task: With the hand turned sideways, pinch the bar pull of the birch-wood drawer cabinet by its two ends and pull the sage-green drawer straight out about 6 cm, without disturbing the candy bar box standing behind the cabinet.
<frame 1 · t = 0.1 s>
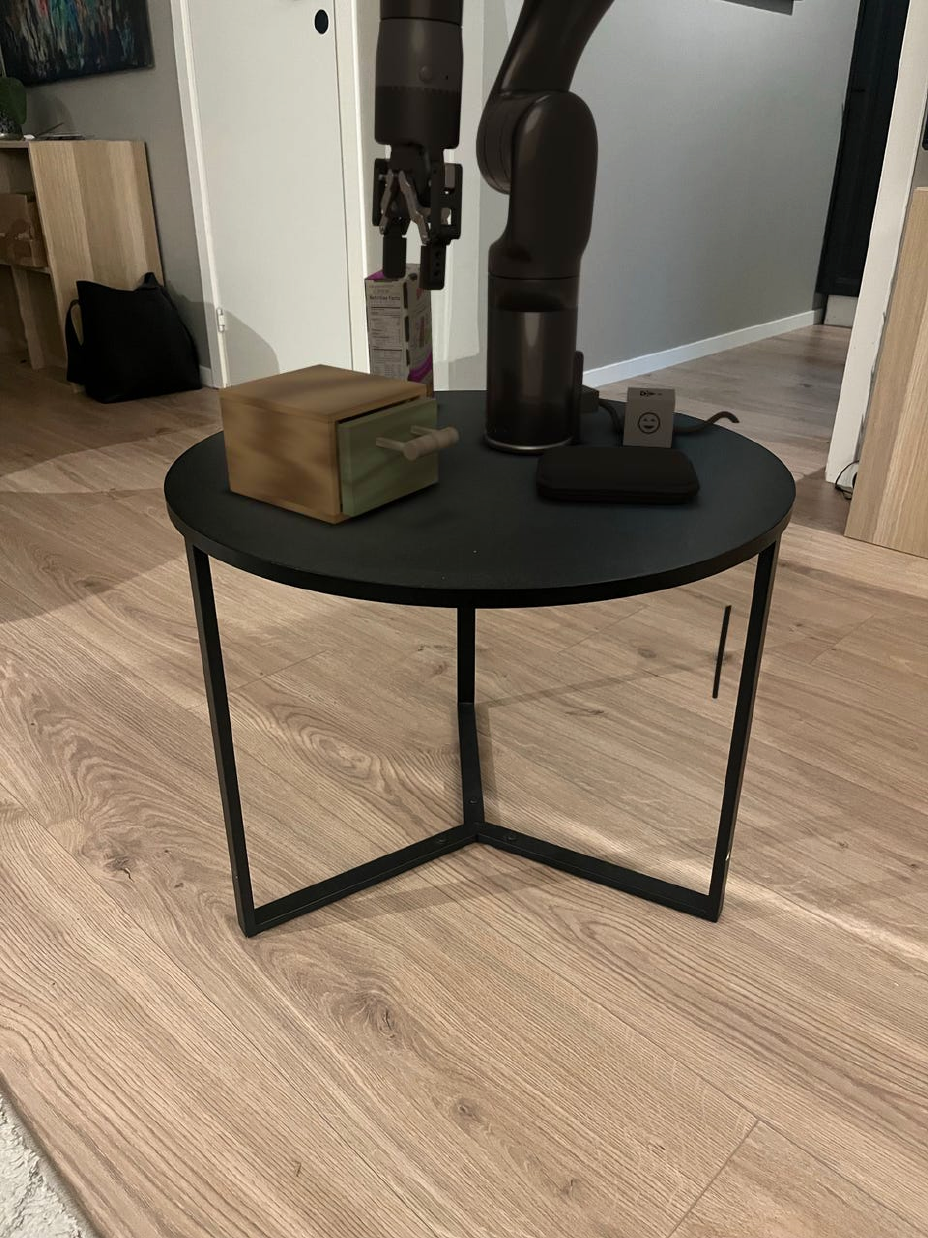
hand: (411, 283, 89), 17 cm above the table, tool pointing down, fingers open, 8 cm apart
cabinet: (330, 488, 90), on the table
candy bar box: (403, 419, 111), on the table
drawer: (363, 448, 85), point 5 cm above the table, slide at 0.5 cm
carrying case: (614, 489, 90), on the table
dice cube: (646, 441, 103), on the table
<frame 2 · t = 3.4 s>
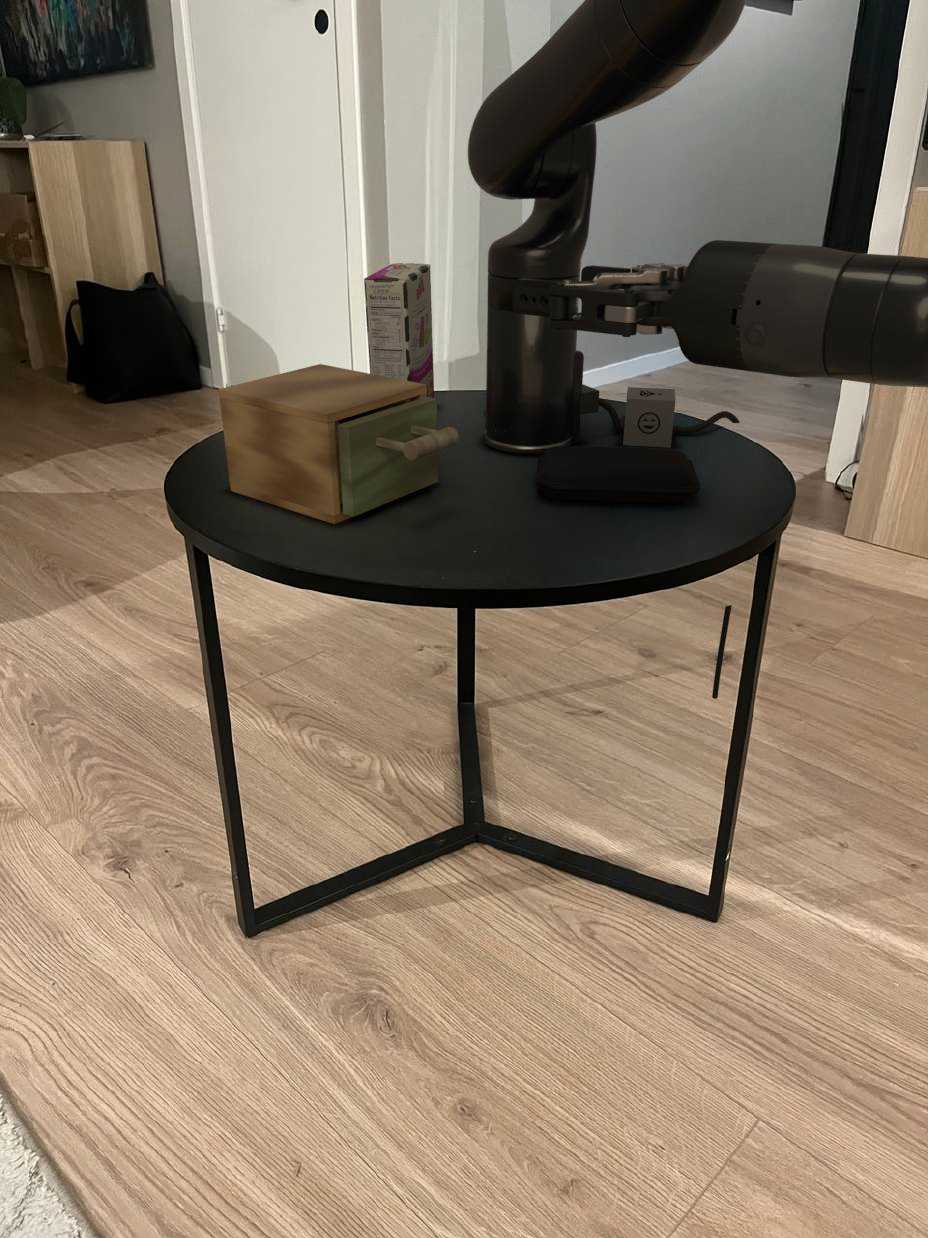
hand: (550, 287, 67), 20 cm above the table, tool horizontal, fingers open, 8 cm apart
nothing on the table moved.
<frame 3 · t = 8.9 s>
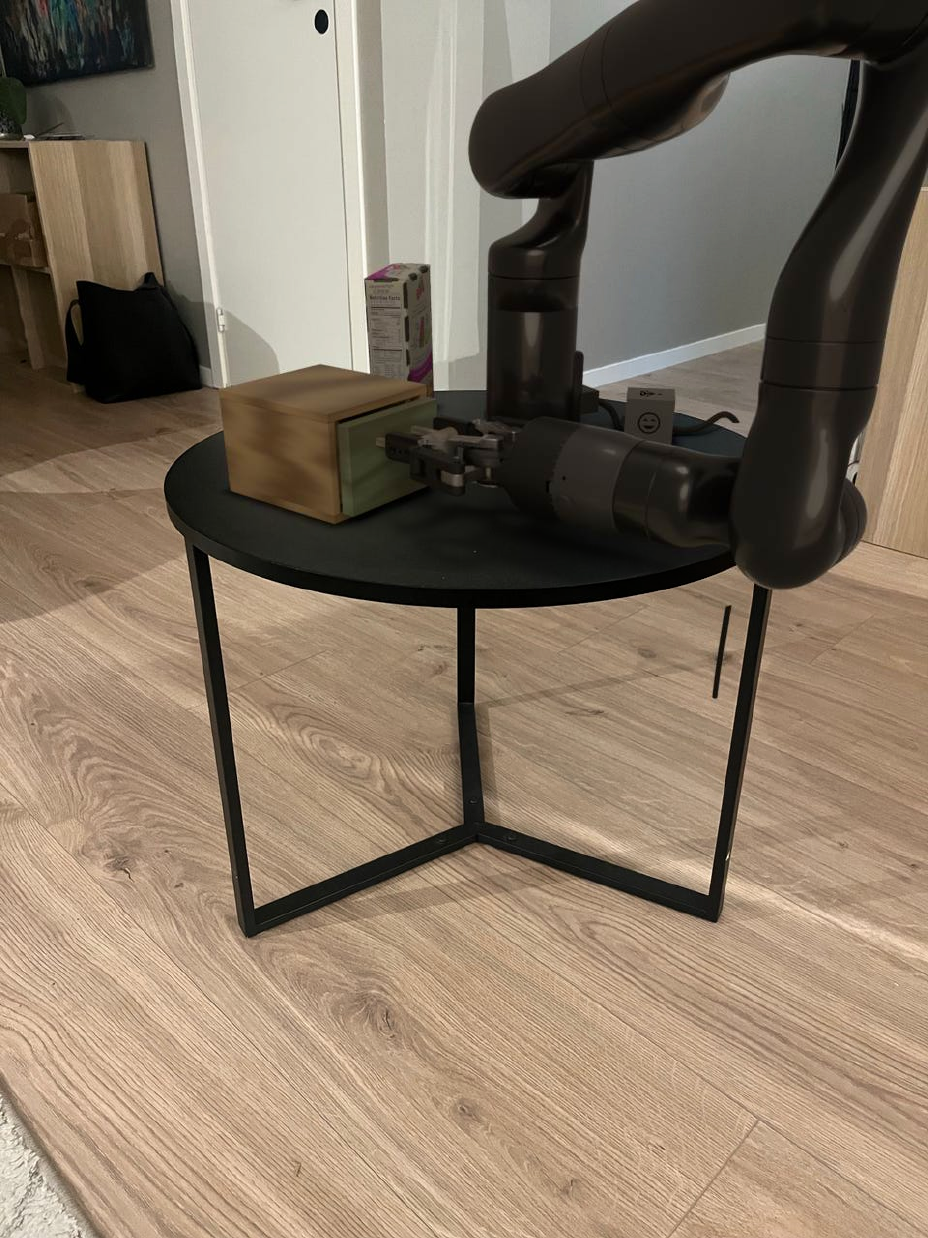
hand: (412, 435, 81), 7 cm above the table, tool horizontal, fingers closed on drawer, 5 cm apart
drawer: (363, 448, 85), point 5 cm above the table, slide at 0.5 cm, touching gripper
everything else where it was.
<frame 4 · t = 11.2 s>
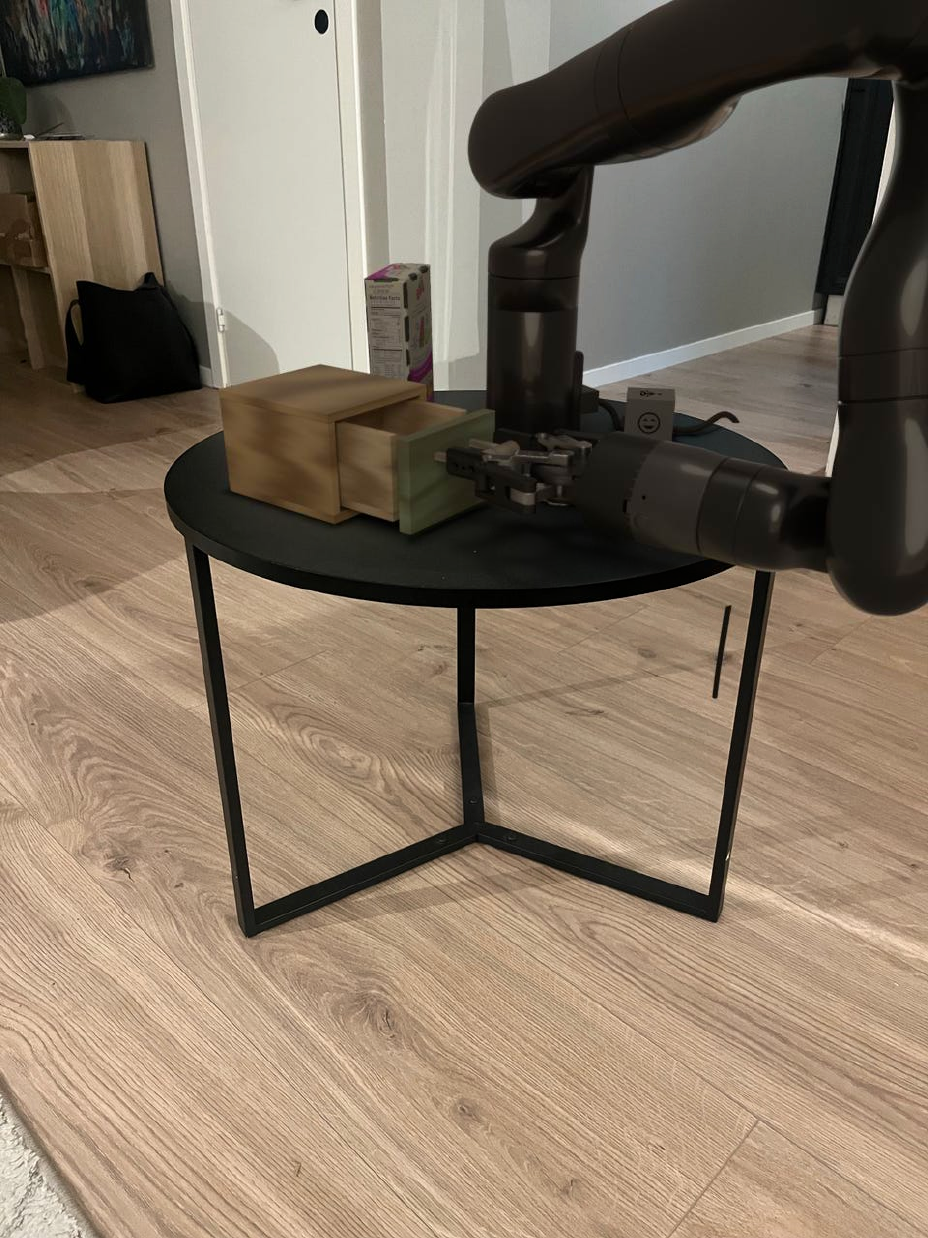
hand: (473, 450, 77), 7 cm above the table, tool horizontal, fingers closed on drawer, 5 cm apart
drawer: (418, 462, 81), point 5 cm above the table, slide at 6.9 cm, touching gripper
everything else where it was.
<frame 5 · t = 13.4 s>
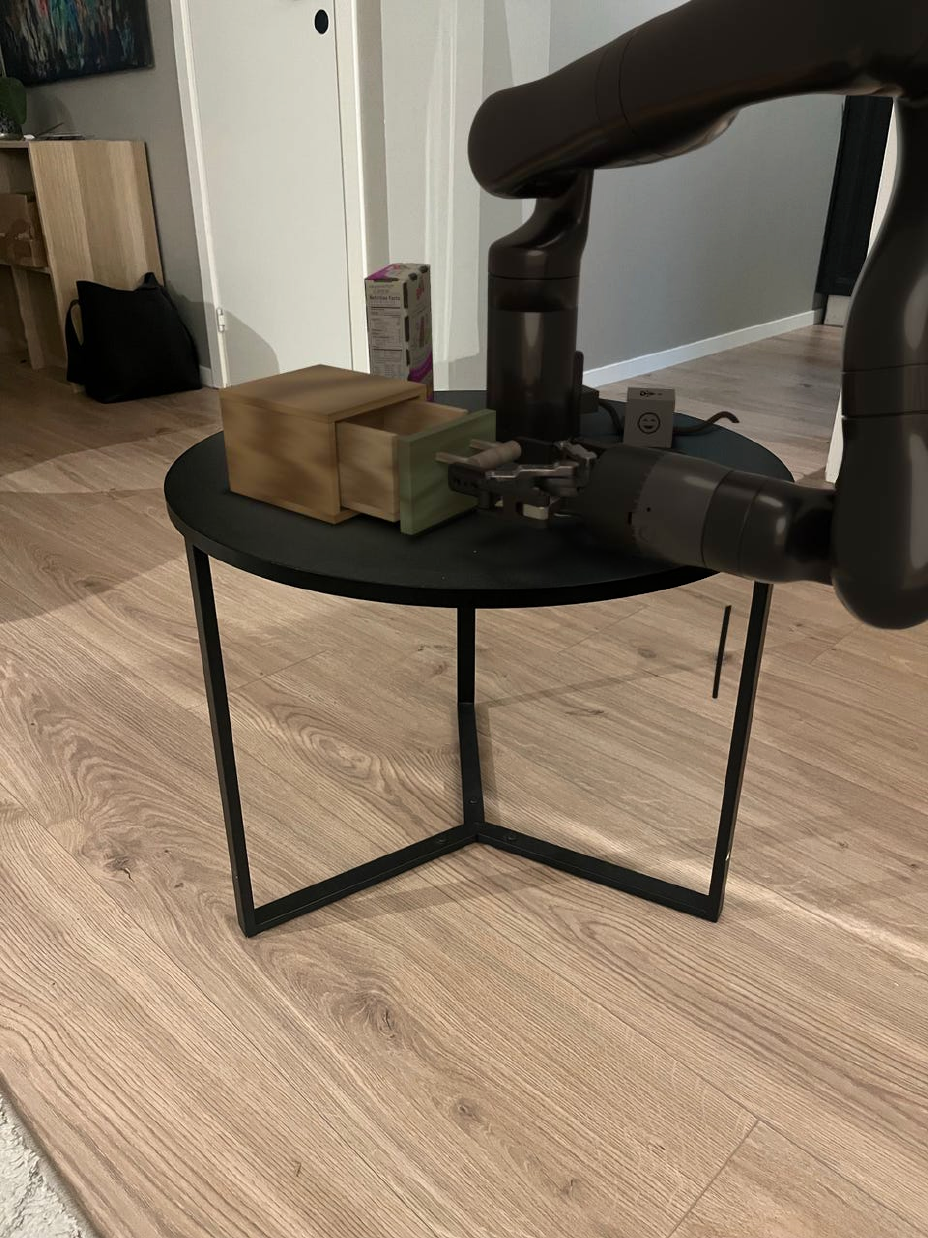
hand: (483, 461, 77), 6 cm above the table, tool horizontal, fingers open, 8 cm apart
drawer: (419, 462, 81), point 5 cm above the table, slide at 7.0 cm
everything else where it was.
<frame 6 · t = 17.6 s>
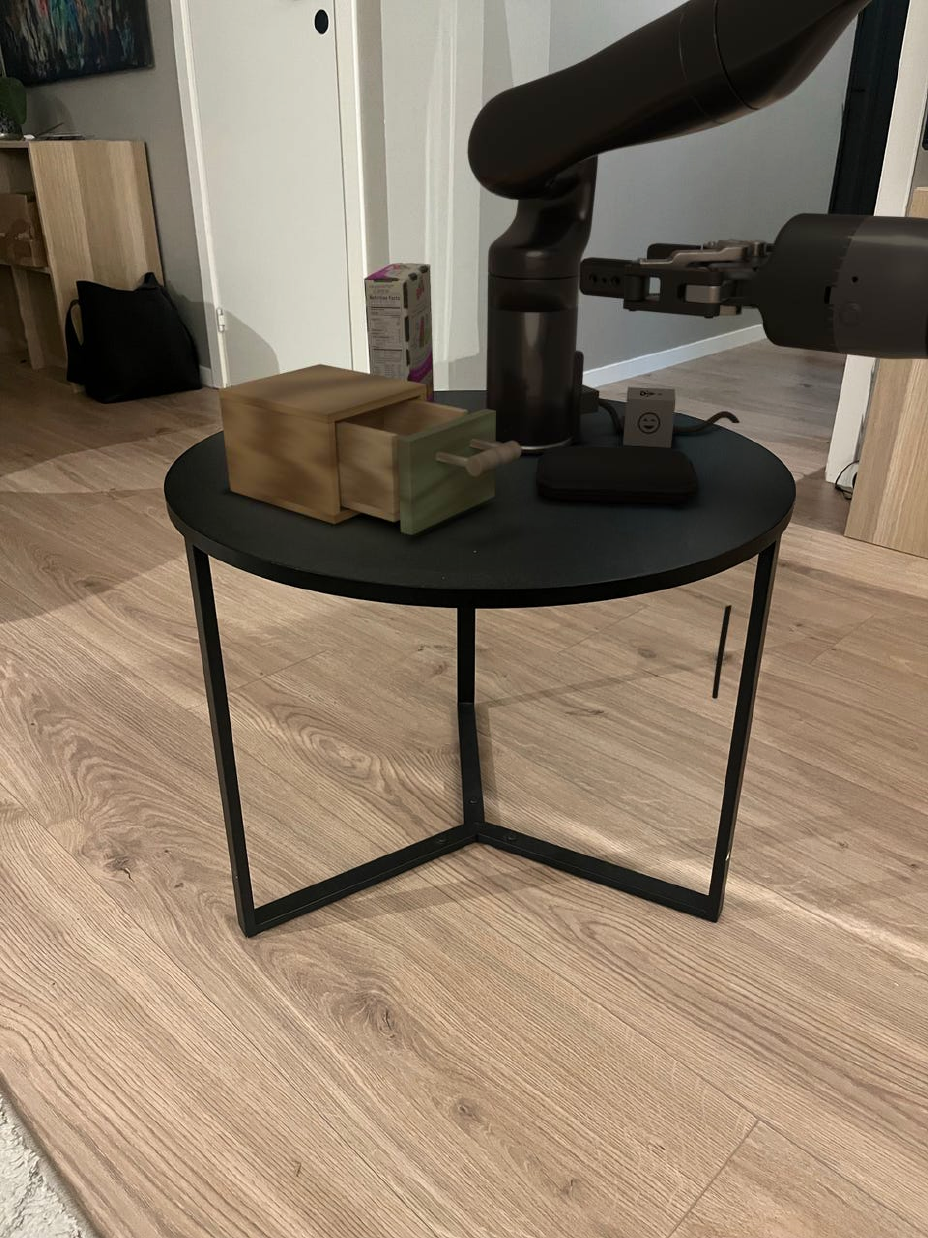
hand: (616, 267, 63), 22 cm above the table, tool horizontal, fingers open, 8 cm apart
nothing on the table moved.
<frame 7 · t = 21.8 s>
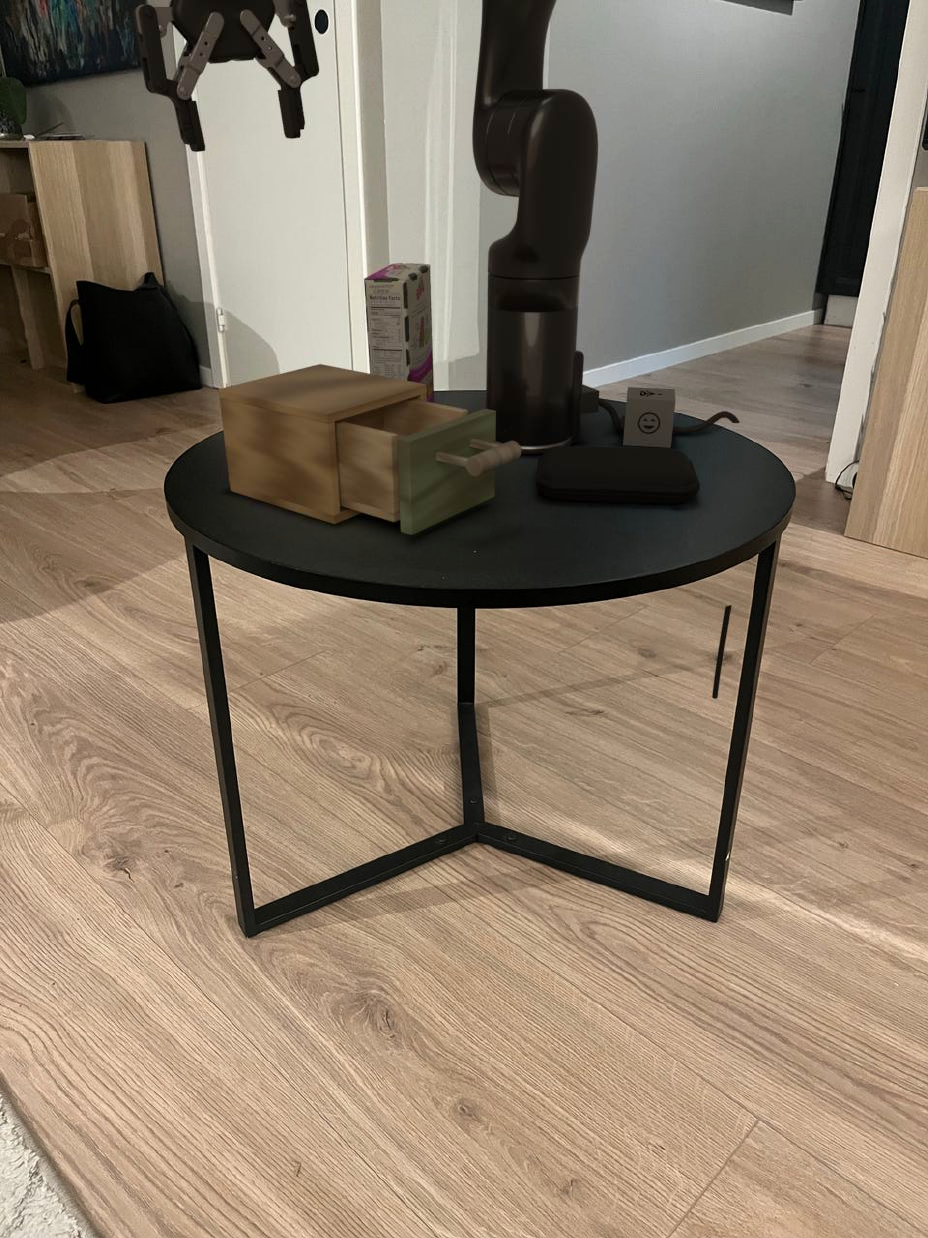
hand: (246, 144, 81), 29 cm above the table, tool pointing down, fingers open, 8 cm apart
nothing on the table moved.
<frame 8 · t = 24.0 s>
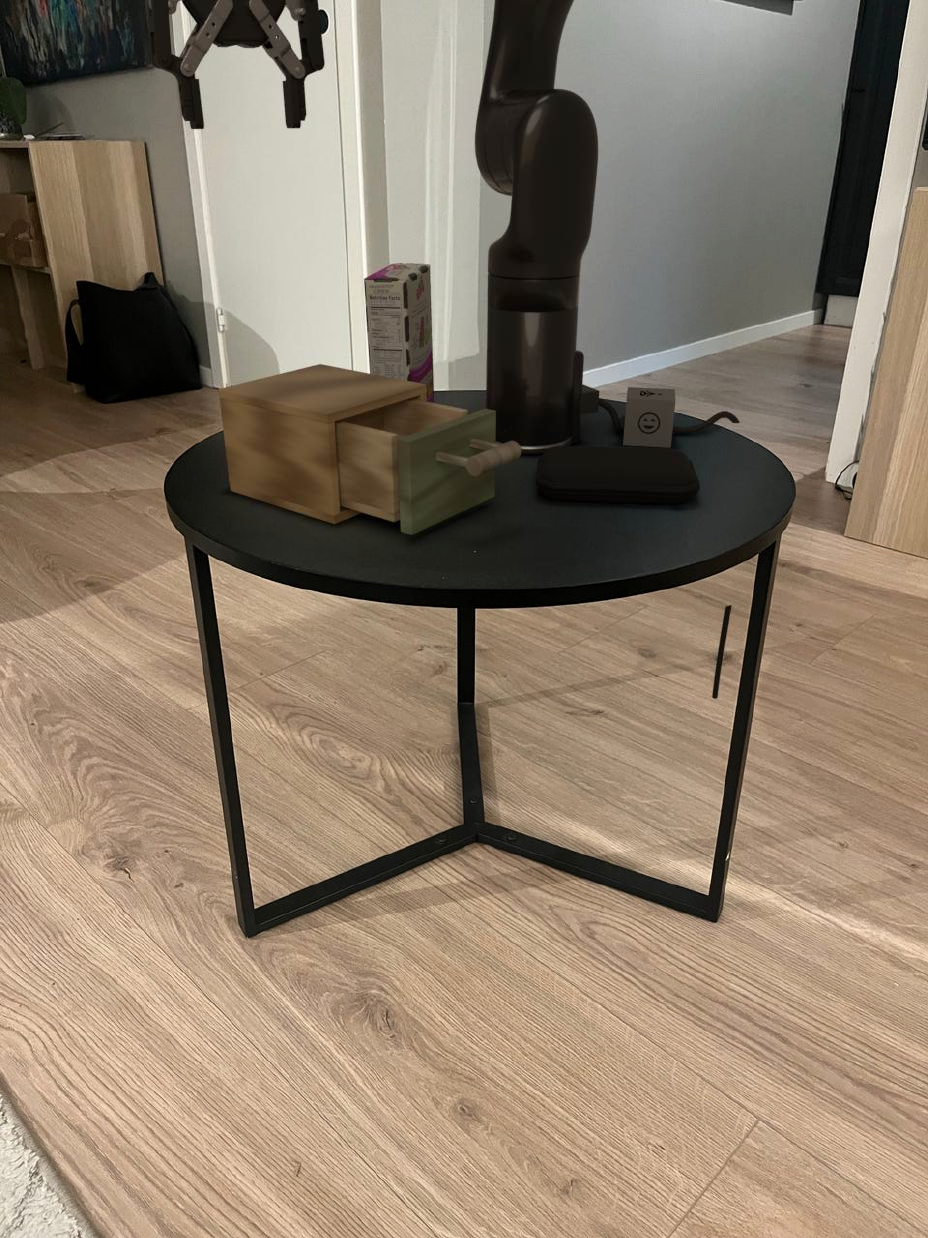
hand: (246, 128, 83), 30 cm above the table, tool pointing down, fingers open, 8 cm apart
nothing on the table moved.
at the end: drawer slide at 7.0 cm; candy bar box moved 0.2 cm from its start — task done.
